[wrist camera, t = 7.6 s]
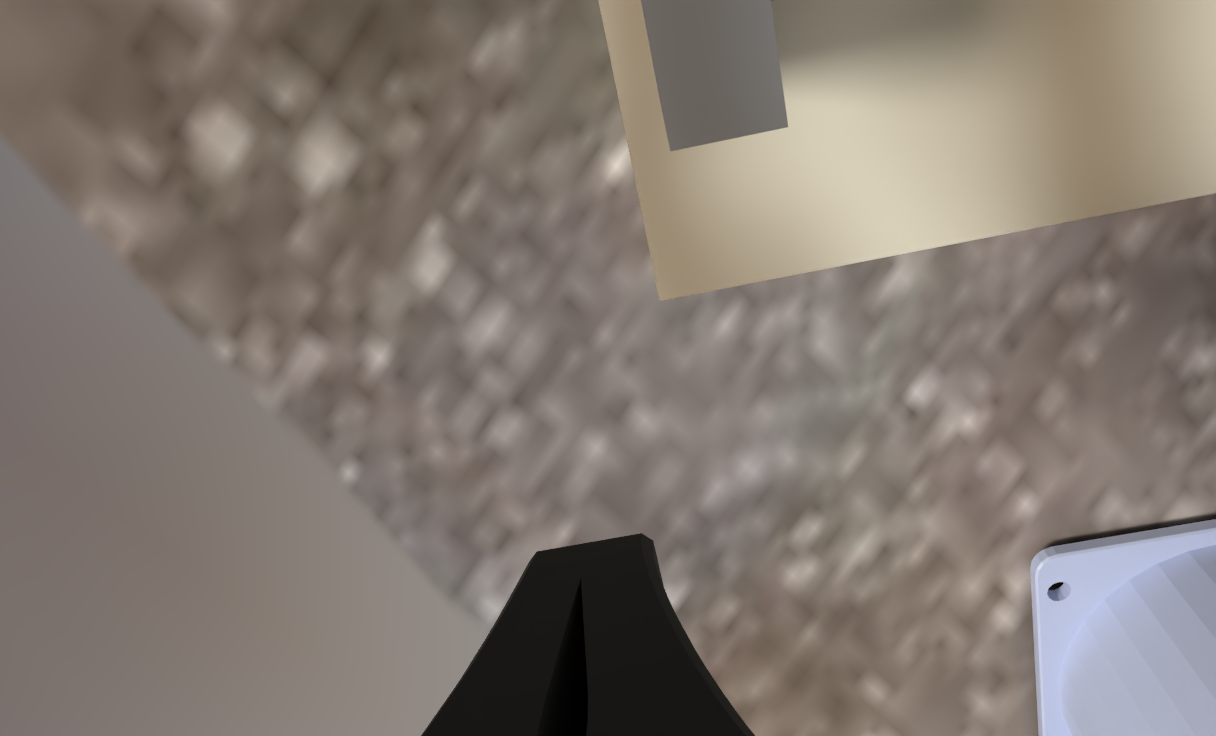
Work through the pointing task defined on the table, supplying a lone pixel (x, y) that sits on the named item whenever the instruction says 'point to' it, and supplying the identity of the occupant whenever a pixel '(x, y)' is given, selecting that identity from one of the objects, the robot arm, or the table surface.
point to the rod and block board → (900, 123)
